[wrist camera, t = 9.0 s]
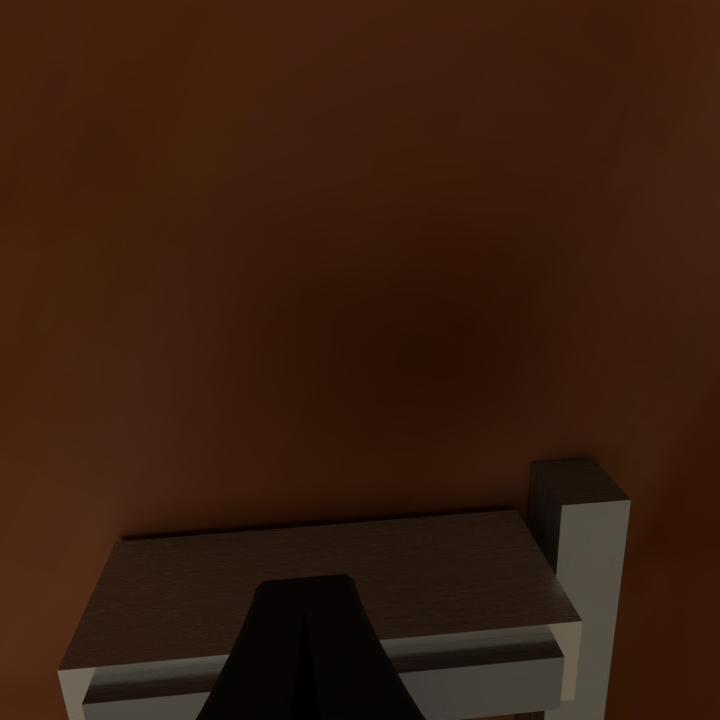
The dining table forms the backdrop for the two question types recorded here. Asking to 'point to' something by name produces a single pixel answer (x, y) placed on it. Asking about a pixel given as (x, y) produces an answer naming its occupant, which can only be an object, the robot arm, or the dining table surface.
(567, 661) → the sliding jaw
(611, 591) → the vise body
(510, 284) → the dining table surface
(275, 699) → the robot arm
